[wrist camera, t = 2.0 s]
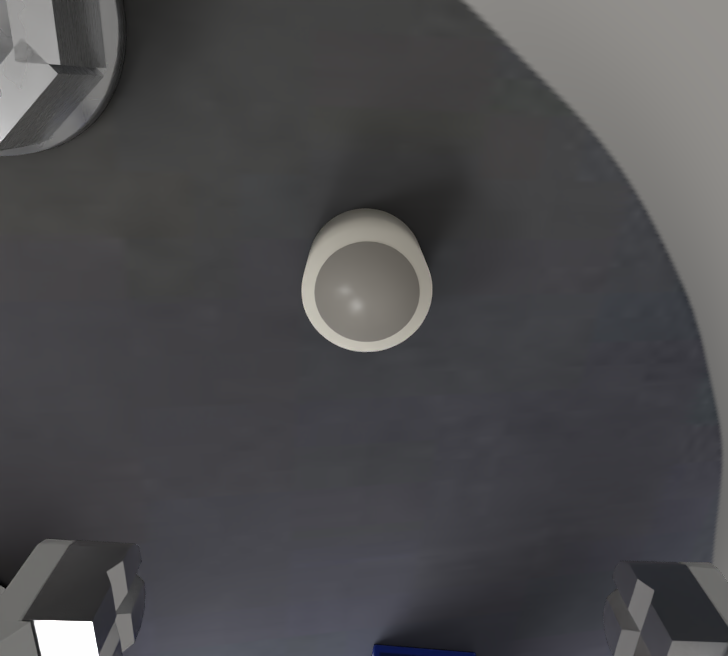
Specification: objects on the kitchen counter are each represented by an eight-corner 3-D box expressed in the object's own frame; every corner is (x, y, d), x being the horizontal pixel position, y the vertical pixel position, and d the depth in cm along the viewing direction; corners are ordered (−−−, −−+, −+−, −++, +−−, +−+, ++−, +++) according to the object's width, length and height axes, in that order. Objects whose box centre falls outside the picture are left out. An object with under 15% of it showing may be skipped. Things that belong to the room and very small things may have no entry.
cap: (417, 319, 29) (427, 355, 25) (307, 315, 29) (300, 351, 25) (426, 210, 27) (438, 231, 23) (308, 205, 27) (301, 226, 23)
